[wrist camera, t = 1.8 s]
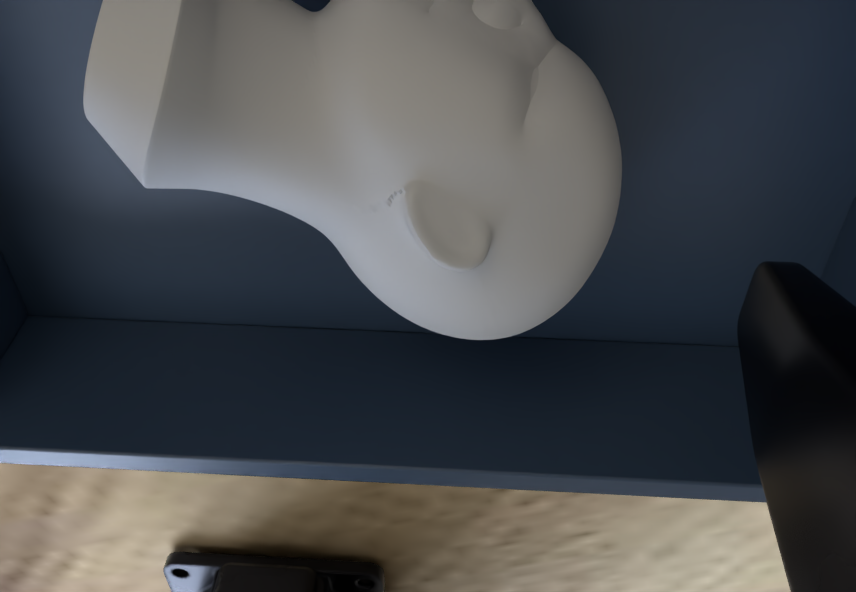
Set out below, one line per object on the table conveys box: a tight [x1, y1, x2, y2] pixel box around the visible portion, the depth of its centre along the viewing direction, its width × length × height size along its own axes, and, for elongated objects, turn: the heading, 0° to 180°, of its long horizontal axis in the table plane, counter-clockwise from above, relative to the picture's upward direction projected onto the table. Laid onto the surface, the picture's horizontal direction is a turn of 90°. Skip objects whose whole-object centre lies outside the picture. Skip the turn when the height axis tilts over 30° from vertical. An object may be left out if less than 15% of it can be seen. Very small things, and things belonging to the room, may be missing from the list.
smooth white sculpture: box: [83, 0, 622, 340], centre depth 12 cm, size 4×8×5 cm
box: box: [0, 0, 856, 502], centre depth 12 cm, size 13×17×4 cm
